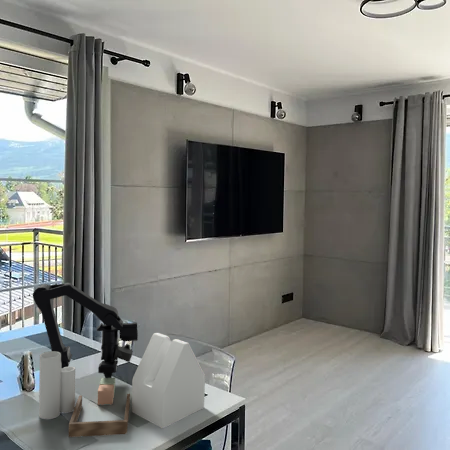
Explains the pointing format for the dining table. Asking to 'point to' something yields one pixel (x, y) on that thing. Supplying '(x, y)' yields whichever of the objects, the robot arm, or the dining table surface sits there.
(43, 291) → the robot arm
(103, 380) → the sage block
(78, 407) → the box
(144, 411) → the white slotted block
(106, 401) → the terracotta block
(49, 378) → the white tubes
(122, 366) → the dining table surface
